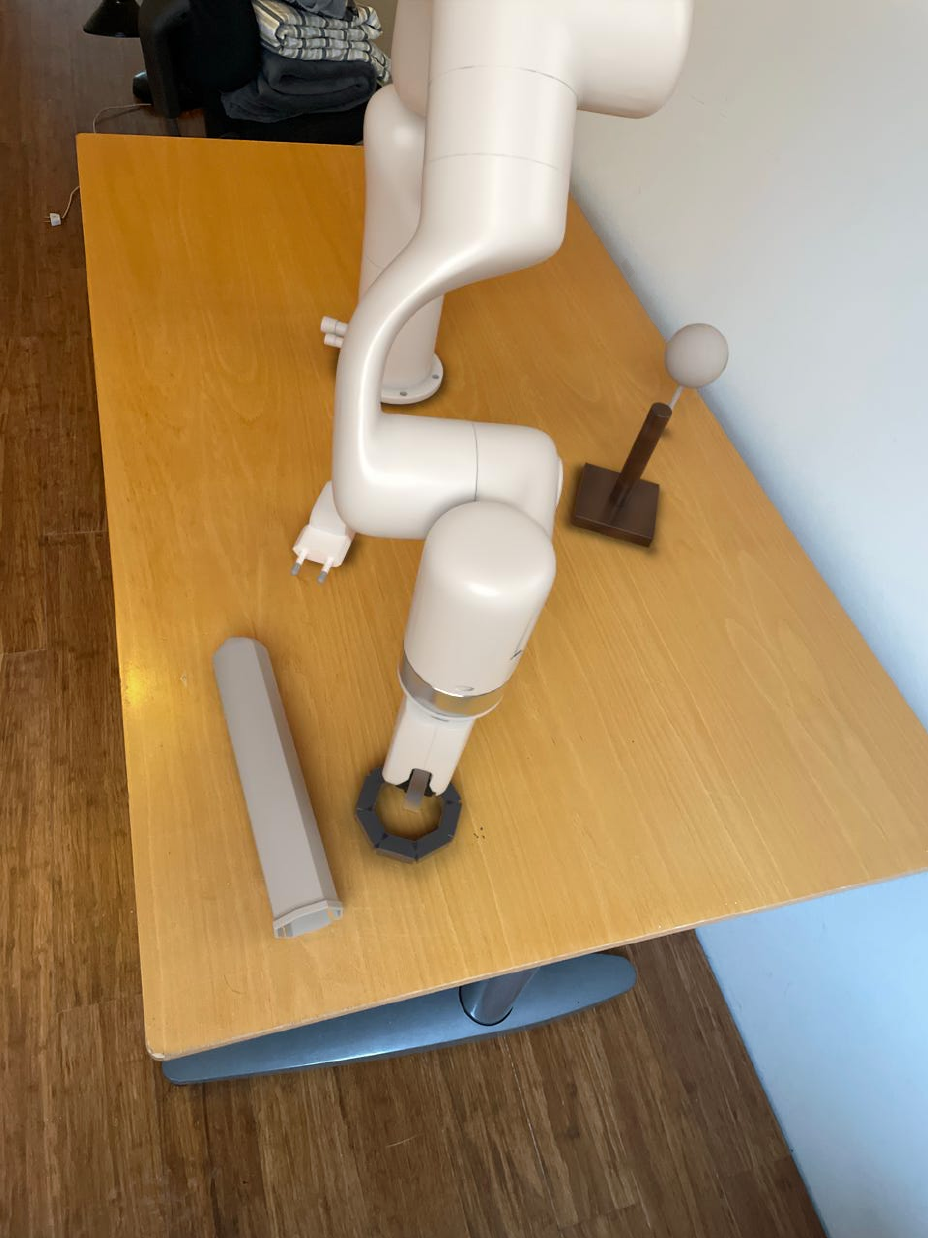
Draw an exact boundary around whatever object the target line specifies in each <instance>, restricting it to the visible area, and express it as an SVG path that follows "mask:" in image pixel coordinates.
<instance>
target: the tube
mask: <svg viewBox="0 0 928 1238" xmlns="http://www.w3.org/2000/svg"><path fill="white" fill-rule="evenodd" d="M211 660H212V671H213V674H214V678H215V682H216V686H217V690H218V691H217V692H218V695H219V699H220V703H221V707H222V713H223V716H224V720H225V724H226V728H227V732H228V737H229V741H230V745H231V749H232V753H233V757H234V761H235V762H234V763H235V766H236V771H237V773H238V778H239V782H240V786H241V791H242V794H243V799H244V803H245V807H246V812H247V815H248V819H249V823H250V829H251V832H252V833H251V834H252V836H253V841H254V844H255V849H256V853H257V857H258V862H259V865H260V866H259V867H260V869H261V874H262V878H263V882H264V886H265V890H266V891H265V892H266V896H267V899H268V904H269V907H270V912H271V916H272V920H273V921H272V922H271V924H272V935H273V938H275V939H291V940H292V939H294V938H295V939H296V938H299V937H301V936H304V935H308V934H310V933H313V932H316V931H319V930H321V929H323V928H325V927H328V926H329V925H331V924H333V923H335V922H336V921H334V922H332V921H331V919H330V916H329V913H328V909H331V913H332V914H333V918H334V920H337V921H339V920H340V919H342V918H343V917H344V916H343V915H344V910H345V906H344V903H343V901H340V899H339V897H338V894H337V890H336V887H335V882H334V879H333V876H332V873H331V869H330V866H329V861H328V859H327V855H326V851H325V849H324V845H323V840H322V838H321V834H320V830H319V827H318V824H317V820H316V816H315V812H314V809H313V806H312V802H311V798H310V795H309V792H308V788H307V785H306V781H305V778H304V774H303V771H302V767H301V764H300V760H299V757H298V753H297V750H296V747H295V743H294V739H293V736H292V733H291V732H292V731H291V729H290V725H289V722H288V718H287V715H286V710H285V708H284V704H283V700H282V697H281V694H280V690H279V687H278V683H277V680H276V676H275V673H274V669H273V664H272V662H271V659H270V655H269V651H268V648H266V647H265V645H263V644H262V642H260V641H259V640H258V639H255V638H252V637H249V636H248V637H247V636H245V637H244V636H243V637H242V636H240V637H239V636H237V637H235V636H233V637H232V636H231V637H230V636H229V637H228V638H227V639H226V640H225V641H223V643H221V645H220V646H219V647H218V648H217V649H216V650H215V651H214V653H213V655H212V657H211ZM333 918H332V919H333ZM283 926H284V928H285V933H286V937H285V936H284V932H283V931H284V930H283V928H282V927H283ZM282 937H284V938H282Z"/></svg>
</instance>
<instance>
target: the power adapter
mask: <svg viewBox="0 0 928 1238" xmlns="http://www.w3.org/2000/svg"><path fill="white" fill-rule="evenodd" d="M356 533H357V532H355V531H354V530H352V529H350V528H349V527H348V526H346V525H345V523H344V522H343V521H342V520H341V518H340V517H339V515H338V513H337V510H336V507H335V504H334V499H333V493H332V479H330V480H327V481H326V483H325V485H324V486H323V487H322V490H321V492H320V493H319V496H318V497H317V500H316V502H315V504H314V506H313V508H312V510H311V512H310V515H309V521H308V523H307V524H305V525H304V526H303V527H302V529H301V531H300V533H299V534H298V537H297V539H296V540H295V543H294V544H293V547H292V551H293V552H294V553H295V554H296V556H297V557H296V560H295V562H294V563H293V564H292V567H291V568H290V571H289V572H290V575H291V576H293V577H297V575H299V572H300V570H301V568H302V566H303V563H304V561H305V560H309V561H312V562H315V563H318V564H322V565H323V566H322V568H321V570H320V572H319V573H318V576H317V577H316V582H317V584H319V585H322V584H324V583H325V581H326V579H327V577H328V574H329V572H330V569H331V568H337V567H339V566H341V565H342V564H343V562H344V560H345V557H346V556H347V553H348V551H349V550H350V547H351V545H352V542H353V540H354V539H355V536H356Z"/></svg>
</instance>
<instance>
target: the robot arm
mask: <svg viewBox="0 0 928 1238" xmlns="http://www.w3.org/2000/svg"><path fill="white" fill-rule="evenodd" d="M695 9H696V0H397V4H396V11H395V19H394V27H393V34H392V42H391V50H390V51H391V52H390V74H391V81H392V83H389V84H387V85H384V86H382V87H381V88H379V89H378V90H377V91H375V92H374V93H373V94H372V96H371V98H369V101H368V103H367V106H366V109H365V111H364V112H365V113H364V118H363V135H362V137H363V138H362V139H363V142H362V143H363V155H364V156H363V157H364V175H365V206H364V207H365V208H364V209H365V210H364V227H363V239H362V249H361V262H360V273H359V283H358V294H357V306H356V307H355V309H354V311H353V313H352V316H351V318H350V319H349V322H348V323H347V322H345V321H341V320H339V319H336V318H333V317H330V316H326V315H324V316H323V317H322V319H321V323H320V333H324V334H325V335H324V338H323V344H324V345H326V346H329V347H333V348H338V349H339V355H338V359H337V365H336V374H335V382H334V383H335V384H334V385H335V386H334V402H333V403H334V405H333V406H334V407H333V424H332V425H333V427H332V443H331V445H332V447H331V471H330V472H331V480H332V493H333V499H334V504H335V507H336V510H337V513H338V515H339V517H340V518H341V520H342V521H343V522H344V523H345V525H346V526H348V527H349V528H350V529H352V530H354V531H355V532H356V533H357V534H359V535H363V536H366V537H371V538H380V539H392V540H411V541H425V542H424V545H423V547H422V552H421V556H420V561H419V566H418V570H417V575H416V578H415V579H416V580H415V584H414V589H413V594H412V598H411V602H410V607H409V611H408V615H407V619H406V625H405V630H404V633H403V636H402V641H401V646H400V650H399V655H398V660H397V666H396V667H397V668H396V669H397V671H396V672H397V678H398V682H399V685H400V687H401V690H402V691H403V693H402V697H401V701H400V704H399V708H398V712H397V715H396V718H395V723H394V727H393V731H392V734H391V739H390V743H389V746H388V750H387V752H386V753H387V754H386V756H385V760H384V764H383V765H384V767H383V771H382V775H383V778H384V780H385V781H386V782H389V783H391V784H392V785H395V788H398V789H400V790H403V792H404V794H405V795H404V796H405V797H404V800H403V804H402V807H401V809H402V810H405V811H408V812H411V813H415V814H418V813H419V810H420V807H421V804H422V800H423V798H424V797H427V798H432V797H435V796H437V795H440V794H441V793H443V792H444V791H445V790H446V788H447V786H448V784H449V782H450V781H451V780H452V778H453V775H454V773H455V771H456V768H457V767H458V765H459V762H460V759H461V757H462V754H463V752H464V750H465V747H466V745H467V742H468V741H469V737H470V735H471V733H472V731H473V727H474V725H475V723H476V720H477V719H480V718H481V717H485V715H488V714H489V713H490V712H491V711H493V710H494V709H496V707H497V706H498V705H499V704H500V702H501V701H502V699H503V698H504V695H505V693H506V691H507V689H508V686H509V684H510V682H511V680H512V677H513V676H514V673H515V671H516V669H517V666H518V664H519V662H520V660H521V658H522V656H523V654H524V651H525V649H526V648H527V647H526V646H527V645H528V642H529V641H530V637H531V636H532V633H533V631H534V630H535V629H534V628H535V627H536V624H537V622H538V620H539V618H540V615H541V614H542V611H543V609H544V606H545V604H546V603H547V600H548V597H549V595H550V594H551V591H552V587H553V586H554V582H555V579H556V573H557V557H556V552H555V548H554V545H553V537H554V527H555V518H556V510H557V508H558V505H559V502H560V499H561V496H562V491H563V484H564V465H563V461H562V458H561V457H560V456H559V454H558V451H557V447H556V444H555V442H554V440H553V439H552V437H551V436H550V435H549V434H547V433H546V432H545V431H544V430H541V429H539V428H536V427H533V426H528V425H522V424H515V423H512V424H511V423H501V422H489V421H476V420H470V419H462V418H461V419H460V418H450V417H449V418H448V417H437V416H424V415H415V414H414V415H413V414H412V415H411V414H403V413H388V412H384V411H383V410H382V404H381V403H384V404H390V405H409V404H415V403H419V402H423V401H425V400H427V399H429V398H430V397H432V396H433V395H435V394H436V392H438V390H439V389H440V387H441V385H442V381H443V376H444V367H443V363H442V362H441V359H440V358H439V356H438V355H437V354H436V352H435V350H436V349H435V348H436V343H437V338H438V334H439V333H438V332H439V327H440V321H441V317H442V316H441V315H442V309H443V305H444V299H445V294H448V293H450V292H452V291H455V290H457V289H460V288H462V287H465V286H468V285H472V284H475V283H478V282H481V281H485V280H490V279H493V278H498V277H500V276H504V275H508V274H512V273H516V272H519V271H522V270H525V269H529V268H532V267H535V266H536V265H539V264H541V263H543V262H545V261H547V260H548V259H550V258H552V256H554V255H555V254H556V253H557V252H558V251H559V249H561V246H562V244H563V241H564V239H565V235H566V234H565V233H566V227H567V216H568V215H567V214H568V213H567V212H568V202H569V191H570V181H571V180H570V179H571V171H572V161H573V151H574V141H575V132H576V122H577V121H576V120H577V111H581V112H587V113H594V114H601V115H606V116H613V117H617V118H623V119H624V118H625V119H632V120H639V119H644V118H648V117H651V116H653V115H655V114H656V113H657V112H659V111H660V110H661V109H663V108H664V107H665V105H666V104H667V103H668V101H669V100H670V98H671V97H673V94H674V93H675V90H676V89H677V86H678V84H679V83H680V80H681V78H682V75H683V73H684V70H685V67H686V65H687V60H688V56H689V53H690V48H691V44H692V37H693V31H694V24H695ZM434 793H435V795H434Z"/></svg>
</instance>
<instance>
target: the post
mask: <svg viewBox="0 0 928 1238" xmlns="http://www.w3.org/2000/svg"><path fill="white" fill-rule="evenodd" d="M668 405H669V404H666V403H663V402H660V401H659V402H658V401H657V402H653V403H652V404H651V406H650V407H649V410H648V412H647V413H646V416H645V418H644V420H643V423H642V425H641V428H640V429H639V431H638V434H637V436H636V438H635V440H634V442H633V444H632V447H631V448H630V450H629V452H628V455H627V457H626V460H625V461H624V464H623V466H622V468H621V471H620V472H619V471H617V470H613V469H609V468H606V467H602V466H599V465H595V464H592V463H589V462H585V463H584V466H583V468H582V470H581V474H580V479H579V484H578V488H577V494H576V499H575V504H574V509H573V514H572V519H571V526H575V527H578V528H582V529H585V530H588V531H591V532H595V533H598V534H602V535H605V536H607V537H612V538H615V539H618V540H622V541H624V542H628V543H632V544H635V545H638V546H642V547H645V548H647V549H648V548H650V546H651V544H652V543H653V541H654V539H655V530H656V520H657V511H658V502H659V493H660V484H659V483H656V482H652V481H649V480H645V479H643V478H641V477H642V476H643V474H644V471H645V469H646V468H647V465H648V463H649V461H650V460H651V457H652V456H653V453H654V451H655V450H656V447H657V446H658V443H659V441H660V439H661V437H662V435H663V433H664V431H665V430H666V427H667V425H668V423H669V421H670V419H671V417H672V415H673V409H672V410H671V408H670V407H669V406H668Z"/></svg>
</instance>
